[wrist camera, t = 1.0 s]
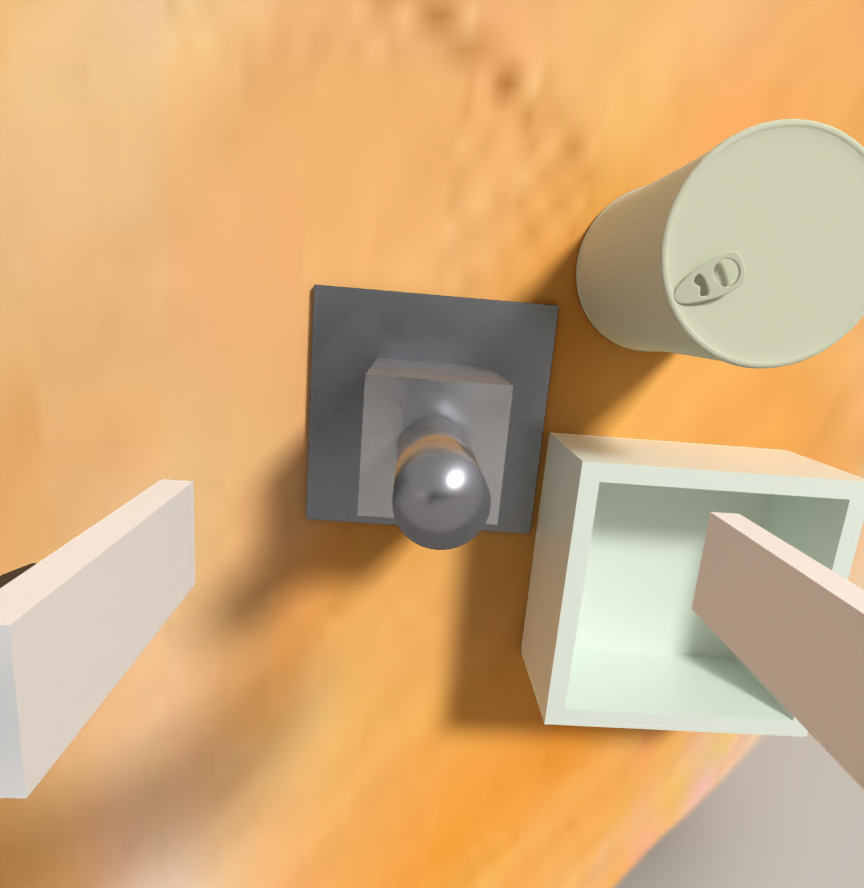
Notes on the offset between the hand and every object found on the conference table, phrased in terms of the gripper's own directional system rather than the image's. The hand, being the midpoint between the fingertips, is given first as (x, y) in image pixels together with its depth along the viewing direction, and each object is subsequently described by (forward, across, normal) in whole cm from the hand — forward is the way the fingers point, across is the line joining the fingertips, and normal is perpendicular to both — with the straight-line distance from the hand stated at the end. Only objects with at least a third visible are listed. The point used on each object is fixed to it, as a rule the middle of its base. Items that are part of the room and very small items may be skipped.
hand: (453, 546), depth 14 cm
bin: (+20, +15, -8) cm, 27 cm away
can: (+21, +12, +9) cm, 26 cm away
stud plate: (+20, 0, 0) cm, 20 cm away
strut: (+20, 0, 0) cm, 20 cm away
